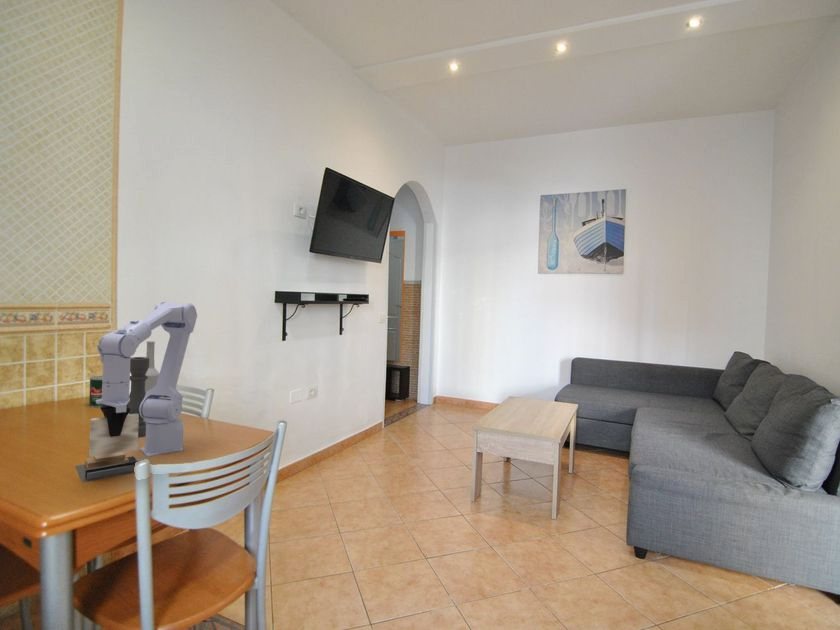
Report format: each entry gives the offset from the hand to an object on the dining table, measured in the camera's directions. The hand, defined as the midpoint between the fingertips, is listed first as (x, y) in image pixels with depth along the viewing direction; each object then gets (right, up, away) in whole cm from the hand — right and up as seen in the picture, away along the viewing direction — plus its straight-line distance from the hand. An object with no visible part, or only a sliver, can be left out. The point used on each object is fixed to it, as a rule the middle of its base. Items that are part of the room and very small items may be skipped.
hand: (114, 434), depth 114 cm
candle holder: (-14, -9, +31) cm, 35 cm away
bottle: (-23, -8, +52) cm, 57 cm away
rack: (-3, -10, +3) cm, 11 cm away
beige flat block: (0, -4, 0) cm, 4 cm away
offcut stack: (-6, -9, +6) cm, 13 cm away
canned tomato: (-49, -6, +65) cm, 82 cm away
